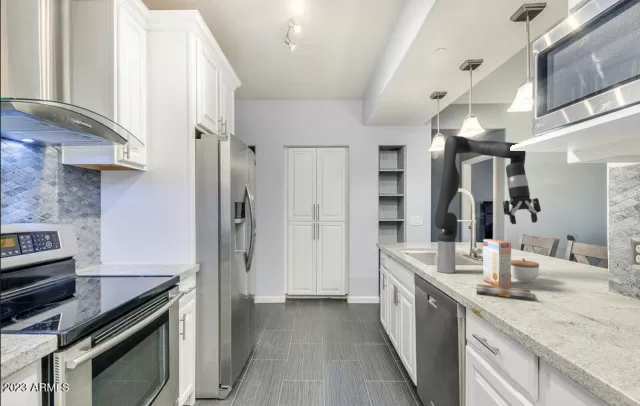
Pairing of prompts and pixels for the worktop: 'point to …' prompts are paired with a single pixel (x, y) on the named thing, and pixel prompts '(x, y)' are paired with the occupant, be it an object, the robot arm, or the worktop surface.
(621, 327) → the worktop surface
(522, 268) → the lidded bowl
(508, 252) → the cracker box
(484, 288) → the brown book
